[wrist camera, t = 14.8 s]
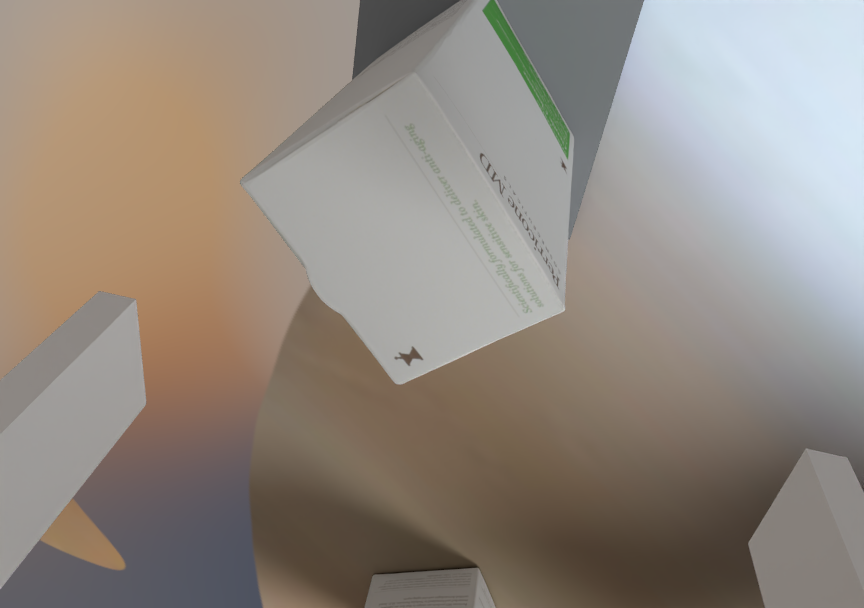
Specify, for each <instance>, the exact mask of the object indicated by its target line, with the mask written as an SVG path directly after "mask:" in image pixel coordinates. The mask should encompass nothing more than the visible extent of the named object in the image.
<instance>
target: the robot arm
mask: <svg viewBox="0 0 864 608" xmlns="http://www.w3.org/2000/svg"><path fill="white" fill-rule="evenodd" d="M145 405H146V395H145V384H144V375H143V365H142V354H141V344H140V334H139V324H138V314H137V304H136V299H132V298H128V297H124V296H119V295H115V294H110V293H106V292H101V291H99V292H98V293H97V294H96V295H94V296H93V297H92V298H91V299H90V300H89V301H88V302H87V303H85V304H84V305H83V306H82V307H81V308H80V309H79V310H78V311H77V312H75V314H73V315H72V316H71V317H70V318H69V319H68V320H67V321H65V322H64V323H63V324H62V325H61V326H60V327H59V328H58V329H57V330H55V332H54V333H52V334H51V335H50V336H49V337H48V338H47V339H45V340H44V341H43V342H42V343H41V344H40V345H39V346H38V347H37V348H35V349H34V350H33V351H32V352H31V353H30V354H29V355H28V356H27V357H25V358H24V359H23V360H22V361H21V362H20V363H19V364H18V365H17V366H16V367H14V368H13V369H12V370H11V371H10V372H9V373H8V374H7V375H5V376H4V377H3V378H2V379H1V380H0V589H1V587H2V586H3V585H4V584H5V582H6V581H7V580H8V579H9V577H10V576H11V575H12V573H13V572H14V571H15V570H16V568H17V567H18V566H19V565H20V563H21V562H22V561H23V560H24V558H25V557H26V556H27V554H28V553H29V552H30V551H31V549H32V548H33V547H34V545H35V544H36V543H37V542H38V541H39V539H40V538H41V537H42V536H43V534H44V533H45V532H46V530H47V529H48V528H49V527H50V525H51V524H52V523H53V522H54V520H55V519H56V518H57V517H58V515H59V514H60V513H61V511H62V510H63V509H64V508H65V506H66V505H67V504H68V503H69V501H70V500H71V499H72V498H73V496H74V495H75V494H76V492H77V491H78V490H79V489H80V487H81V486H82V485H83V484H84V482H85V481H86V480H87V479H88V477H89V476H90V474H92V472H93V471H94V470H95V468H96V467H97V465H99V463H100V462H101V461H102V460H103V458H104V457H105V456H106V455H107V453H108V452H109V451H110V449H111V448H112V447H113V445H114V444H115V443H116V442H117V441H118V439H119V438H120V437H121V436H122V434H123V433H124V432H125V430H126V429H127V428H128V427H129V425H130V424H131V423H132V421H133V420H134V419H135V418H136V416H137V415H138V414H139V413H140V411H141V410H142V409H143V407H144V406H145ZM748 545H749V549H750V553H751V557H752V560H753V564H754V568H755V572H756V576H757V579H758V583H759V587H760V591H761V595H762V598H763V602H764V606H765V608H864V492H863V490H862V488H861V485H860V483H859V481H858V479H857V477H856V475H855V473H854V471H853V468H852V466H851V464H850V462H849V460H848V458H847V457H843V456H838V455H834V454H829V453H825V452H820V451H816V450H811V449H807V448H806V449H805V451H804V452H803V454H802V455H801V457H800V459H799V460H798V462H797V464H796V465H795V467H794V469H793V470H792V472H791V474H790V475H789V477H788V478H787V480H786V482H785V483H784V485H783V487H782V488H781V490H780V492H779V493H778V495H777V497H776V498H775V500H774V502H773V503H772V505H771V506H770V508H769V510H768V511H767V513H766V515H765V516H764V518H763V520H762V521H761V523H760V525H759V526H758V528H757V529H756V531H755V533H754V534H753V536H752V538H751V539H750V541H749V543H748Z"/></svg>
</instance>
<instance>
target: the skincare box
mask: <svg viewBox="0 0 864 608" xmlns="http://www.w3.org/2000/svg"><path fill="white" fill-rule="evenodd" d="M573 148H574V136H573V134H572V132H571V130H570V129H569V127H568V125H567V123H566V122H565V120H564V118H563V117H562V115H561V113H560V111H559V110H558V108H557V106H556V104H555V102H554V100H553V98H552V96H551V95H550V93H549V91H548V89H547V88H546V86H545V84H544V82H543V81H542V79H541V77H540V75H539V74H538V72H537V70H536V68H535V67H534V65H533V63H532V61H531V60H530V58H529V56H528V55H527V53H526V51H525V49H524V48H523V46H522V44H521V42H520V41H519V39H518V37H517V36H516V34H515V32H514V30H513V29H512V27H511V25H510V23H509V21H508V20H507V18H506V16H505V14H504V12H503V10H502V9H501V7H500V5H499V3H498V1H497V0H460V1H459V2H457V3H456V4H454V5H453V6H451V7H450V8H448V9H447V10H445V11H444V12H442V13H441V14H440V15H438V16H437V17H435V18H434V19H432V20H431V21H429V22H428V23H426V24H425V25H423V26H422V27H420V28H419V29H418V30H416V31H415V32H413V33H412V34H411V35H409V36H408V37H406V38H405V39H404V40H402V41H401V42H399V43H398V44H397V45H395V46H394V47H392V48H391V49H390V50H388V51H387V52H385V53H384V54H383V55H381V56H380V57H379V58H377V59H376V60H375V61H374V62H372V63H371V64H370V65H369V66H368V67H367V68H365V69H364V70H363V71H362V72H361V73H360V74H359V75H357V76H356V77H355V78H354V79H353V80H352V81H351V82H350V83H349V84H347V85H346V86H345V87H344V88H343V89H342V90H341V91H340V92H339V93H338V94H336V95H335V96H334V97H333V98H332V99H331V100H330V101H329V102H327V103H326V104H325V105H324V106H323V107H322V108H321V109H320V110H318V112H316V113H315V114H314V115H313V116H312V117H311V118H310V119H308V120H307V121H306V122H305V123H304V124H303V125H302V126H301V127H300V128H299V129H297V130H296V131H295V132H294V133H293V134H292V135H291V136H290V137H288V138H287V139H286V140H285V141H284V142H283V143H282V144H280V145H279V146H278V147H277V148H276V149H275V150H274V151H273V152H272V153H270V154H269V155H268V156H267V157H266V158H265V159H264V160H263V161H261V162H260V163H259V164H258V165H257V166H256V167H255V168H253V169H252V170H251V171H250V172H249V173H248V174H246V175H245V176H244V177H243V178H242V179H241V180H240V184H241V186H242V187H243V188H244V189H245V190H246V192H247V193H248V194H249V195H250V196H251V198H252V199H253V200H254V202H255V203H256V204H257V206H258V207H259V208H260V209H261V211H262V212H263V213H264V215H265V216H266V217H267V219H268V220H269V221H270V223H271V224H272V225H273V227H274V228H275V229H276V231H277V232H278V233H279V235H280V236H281V237H282V238H283V240H284V241H285V243H286V244H287V245H288V247H289V248H290V249H291V250H292V252H293V253H294V254H295V256H296V257H297V258H298V260H299V261H300V262H301V264H302V265H303V266H304V268H305V269H306V272H307V276H308V279H309V282H310V284H311V286H312V288H313V289H314V291H315V292H316V293H317V295H318V296H319V297H320V299H321V300H322V301H323V302H324V303H325V304H326V305H327V306H329V307H330V308H332V309H333V310H335V311H336V312H338V313H340V314H341V315H342V316H343V317H344V318H345V319H346V321H347V322H348V323H349V325H350V326H351V327H352V329H353V330H354V331H355V332H356V334H357V335H358V336H359V337H360V339H361V340H362V341H363V343H364V344H365V345H366V346H367V348H368V349H369V350H370V351H371V353H372V354H373V355H374V357H375V358H376V359H377V361H378V362H379V363H380V365H381V366H382V367H383V368H384V370H385V371H386V372H387V374H388V375H389V376H390V378H391V379H392V380H393V381H394V383H395V384H401V385H402V384H404V383H406V382H408V381H410V380H412V379H414V378H417V377H419V376H421V375H423V374H425V373H428V372H430V371H432V370H434V369H437V368H439V367H441V366H443V365H445V364H447V363H450V362H452V361H454V360H456V359H458V358H460V357H463V356H465V355H467V354H469V353H471V352H473V351H476V350H478V349H480V348H482V347H484V346H486V345H489V344H491V343H493V342H495V341H497V340H499V339H502V338H504V337H506V336H509V335H511V334H513V333H516V332H518V331H520V330H523V329H525V328H527V327H529V326H532V325H534V324H536V323H538V322H541V321H543V320H545V319H548V318H550V317H552V316H554V315H557V314H559V313H561V312H563V311H565V286H566V280H565V277H566V267H567V250H568V229H569V214H570V198H571V181H572V166H573Z"/></svg>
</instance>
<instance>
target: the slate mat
mask: <svg viewBox="0 0 864 608" xmlns="http://www.w3.org/2000/svg"><path fill="white" fill-rule="evenodd" d="M459 1H460V0H360V8H359V18H358V29H357V38H356V48H355V58H354V68H353V78H352V80H353V79H354V78H355V77H356V76H357V75H359V74H360V73H361V72H362V71H363V70H364V69H365V68H367V67H368V66H369V65H370V64H371V63H372V62H374V61H375V60H376V59H377V58H379V57H380V56H381V55H383V54H384V53H385V52H387V51H388V50H390V49H391V48H392V47H394V46H395V45H397V44H398V43H399V42H401V41H402V40H404V39H405V38H406V37H408V36H409V35H411V34H412V33H413V32H415V31H416V30H418V29H419V28H420V27H422V26H423V25H425V24H426V23H428V22H429V21H431V20H432V19H434V18H435V17H437V16H438V15H440V14H441V13H442V12H444V11H445V10H447V9H448V8H450V7H451V6H453V5H454V4H456V3H457V2H459ZM497 1H498V3H499V5H500V7H501V9H502V10H503V12H504V14H505V16H506V18H507V20H508V21H509V23H510V25H511V27H512V29H513V30H514V32H515V34H516V36H517V37H518V39H519V41H520V42H521V44H522V46H523V48H524V49H525V51H526V53H527V55H528V56H529V58H530V60H531V61H532V63H533V65H534V67H535V68H536V70H537V72H538V74H539V75H540V77H541V79H542V81H543V82H544V84H545V86H546V88H547V89H548V91H549V93H550V95H551V96H552V98H553V100H554V102H555V104H556V106H557V108H558V110H559V111H560V113H561V115H562V117H563V118H564V120H565V122H566V123H567V125H568V127H569V129H570V130H571V132H572V134H573V136H574V148H573V166H572V181H571V198H570V214H569V229H568V239H569V240H570V237H571V234H572V230H573V227H574V224H575V221H576V218H577V214H578V211H579V208H580V205H581V201H582V198H583V195H584V192H585V189H586V185H587V182H588V179H589V176H590V172H591V169H592V166H593V163H594V160H595V156H596V153H597V150H598V147H599V144H600V140H601V137H602V134H603V131H604V127H605V124H606V121H607V118H608V115H609V111H610V108H611V105H612V102H613V98H614V95H615V92H616V89H617V86H618V82H619V79H620V76H621V73H622V69H623V66H624V63H625V60H626V57H627V53H628V50H629V47H630V44H631V40H632V37H633V34H634V31H635V28H636V24H637V21H638V18H639V15H640V11H641V8H642V5H643V2H644V0H497Z"/></svg>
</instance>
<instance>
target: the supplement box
mask: <svg viewBox="0 0 864 608" xmlns="http://www.w3.org/2000/svg"><path fill="white" fill-rule="evenodd" d="M364 608H496V607H495V605H494V602H493V600H492V598H491V595H490V593H489V590H488V588H487V586H486V583H485V581H484V579H483V576H482V574H481V572H480V569H479V568H468V569H453V570H438V571H423V572H408V573H396V574H376V575H373V577H372V580H371V584H370V588H369V592H368V596H367V599H366V603H365V607H364Z"/></svg>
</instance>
